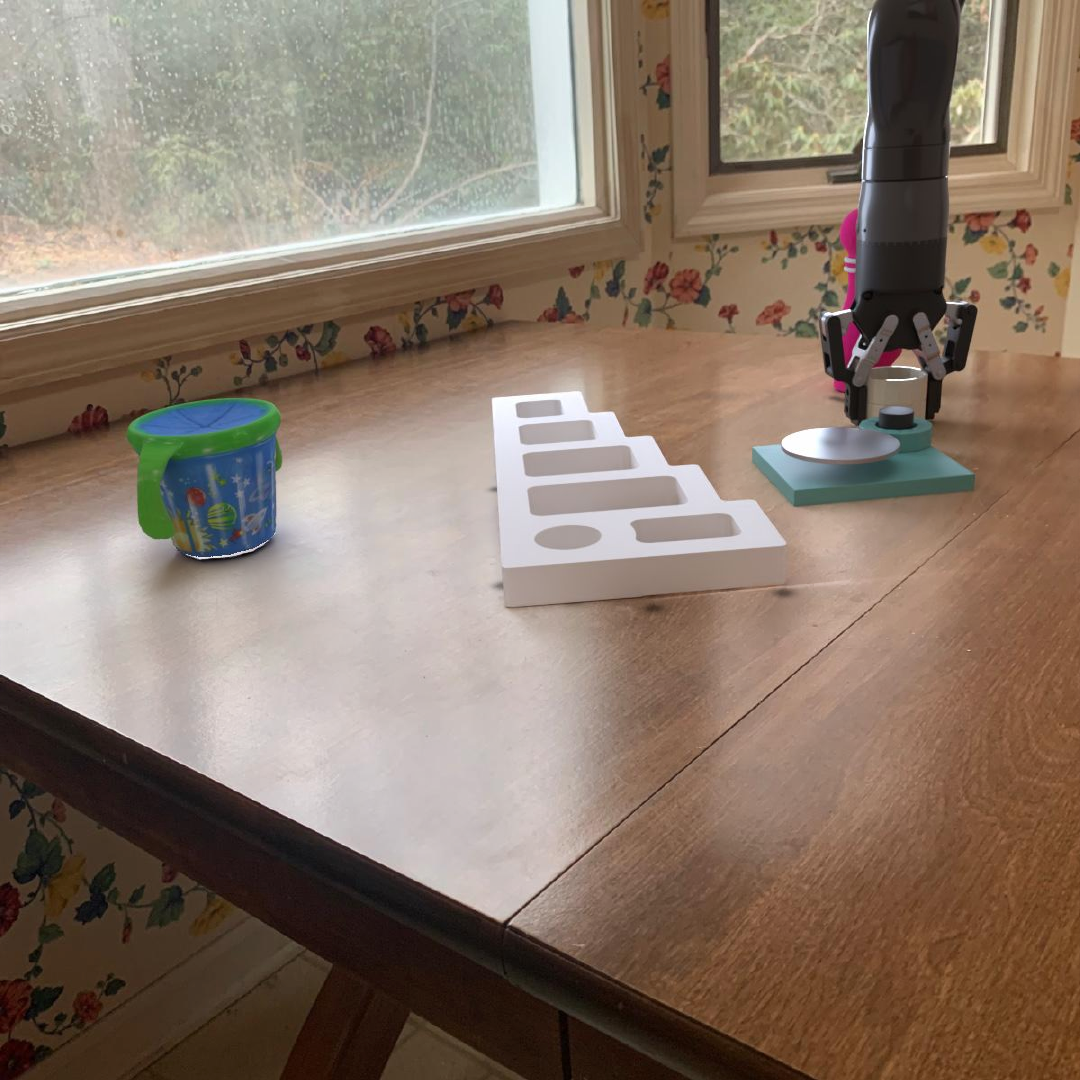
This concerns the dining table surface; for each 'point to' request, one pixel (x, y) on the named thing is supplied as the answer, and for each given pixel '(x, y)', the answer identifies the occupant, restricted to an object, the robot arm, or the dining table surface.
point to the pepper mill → (852, 335)
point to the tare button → (896, 418)
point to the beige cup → (896, 389)
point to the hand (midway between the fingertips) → (891, 420)
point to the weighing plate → (840, 445)
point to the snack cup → (208, 474)
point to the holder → (613, 512)
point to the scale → (867, 471)
